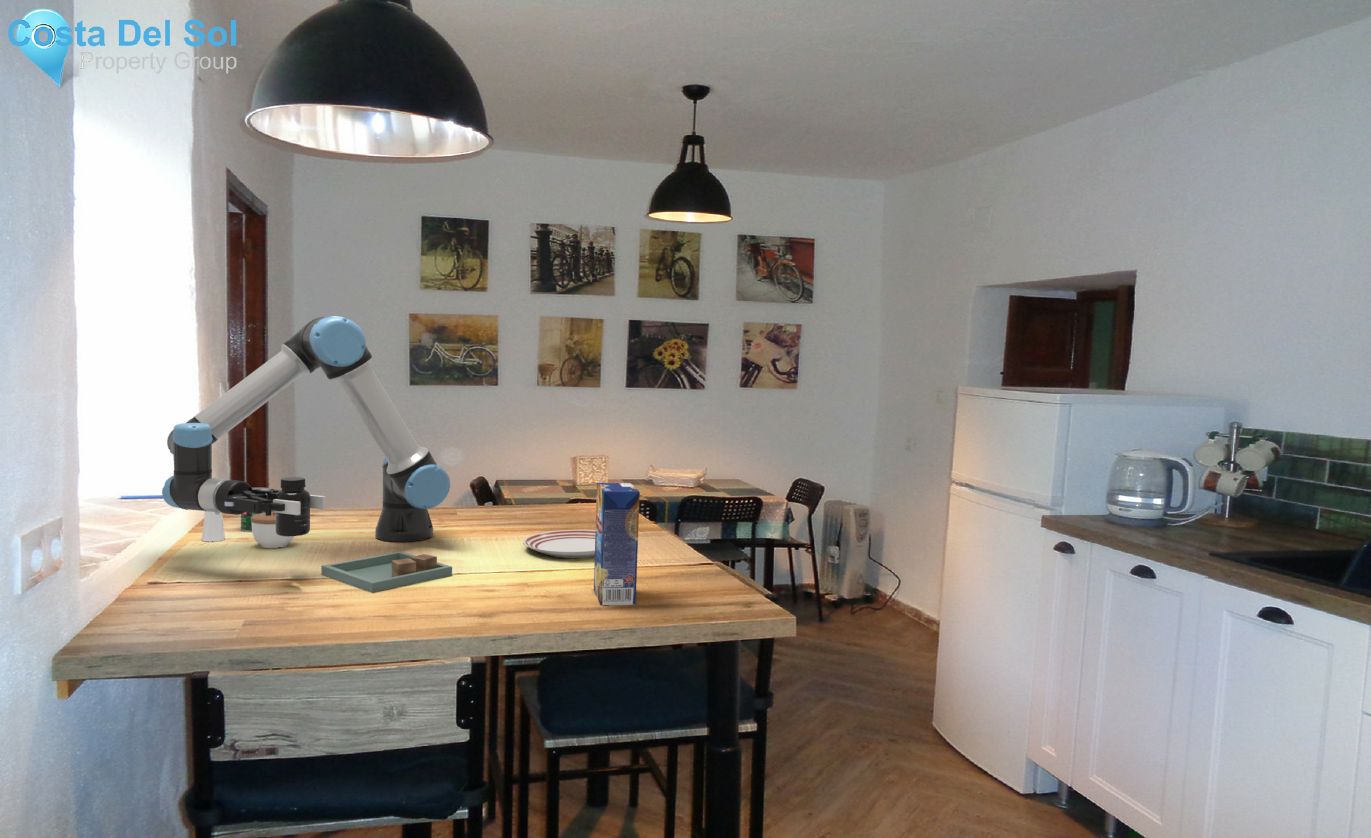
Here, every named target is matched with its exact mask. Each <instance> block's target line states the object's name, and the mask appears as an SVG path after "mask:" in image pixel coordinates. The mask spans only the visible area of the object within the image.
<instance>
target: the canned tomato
mask: <svg viewBox="0 0 1371 838" xmlns="http://www.w3.org/2000/svg"><path fill="white" fill-rule="evenodd" d="M251 488H252V489H260V490H270V489H272V488H271V487H251ZM271 512H272V510H271ZM262 513H265V512H263V511H262ZM256 514H258V513H251V512H245V513H243V514H240V531H241V532H245V531H249V532H248V533H251V532H250V531H252V521H251V517H252V516H253V515H256Z"/></svg>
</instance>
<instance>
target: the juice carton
mask: <svg viewBox="0 0 1371 838" xmlns="http://www.w3.org/2000/svg"><path fill="white" fill-rule="evenodd" d="M640 493H641V492H640V490H639V489H637V488H636V486H635V485H633V484H632V483H631V482H596V505H595V507H596V509H595V511H596V512H595V530H596V533H595V557H594V566H593V567H594V570H593V591H594V594H595V596H597V597H596V599H597V598H598V599H597V601H598V603H599V606H600V605H609V606H636V605H637V603H636V602H637V576H638V574H637V573H638V553H639V552H638V551H639V550H638V549H639V548H638V545H639V525H640V524H639V523H640V522H639V521H640V519H639V518H640V497H641V496H640Z"/></svg>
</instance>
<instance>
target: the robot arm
mask: <svg viewBox="0 0 1371 838" xmlns="http://www.w3.org/2000/svg"><path fill="white" fill-rule="evenodd" d="M366 345H367V344H366V336H365V334H364V331H363V330H362V328H361V327H360V326H359V325H358V324H357V323H356V322H354V321H353V320H350V319H349V318H346V317H343V316H341V315H339V316H338V315H331V316H330V315H329V316H322V317H316V318H314V319H312V320H310V321H308V322H307V323H306V324H305V325H304V326H302V328H301V329H299V330H298V331H297V332H296V333H294V335H293V336H292V337H290V338H289V339H288V340H287V341H285V342H284V343H282V344H281V348H280V349H281V350H280V351H278V353H277V354H275V355H274V356H272V357H271V358H269V360H267V361H266V362H264V363H263V364H262V365H261V366H259V367H258V368H256V369H255V370H254V371H252V372H251V373H250V374H249V375H247V376H246V377H245V378H243V379H242V380H240V381H239V382H238V383H237V384H235V385H234V386H233V387H231V388H230V389H228V391H226V392H225V393H223V394H221V396H219V397H218V398H217V399H215V400H214V401H213V402H211V403H209V405H207V406H206V407H205V408H204V409H202V410H201V411H200V412H198V413H197V414H195V415H194V416H193V417H192V418H190V419H188V420H187V421H186V422H185V423H184V422H181V423H177V424H174V427H173V429H172V430H171V431H170V433H169V434H168V436H167V441H166V443H167V444H166V446H167V448H168V450H169V452H170V453H171V454H172V455H173V475H172V476H170V477H168V479H166V480H165V482H164V485H163V487H162V489H161V490H162V491H161V495H162V498H163V499H162V500H164V502H165V504H167V505H168V506H170V507H171V508H178V509H182V510H186V511H189V510H190V511H200V512H201V511H203V512H205V511H209V512H215V515H219V514H220V513H222V514H226V515H234V516H239V515H240V516H241V514H243V513H245V512H251V513H258V514H261V513H262V511H263V512H265V513H266V516H271V510H272V511H273V512H274V513H283V514H292V515H300V502H297V501H288V500H278V499H276V494H277V493H278V492H279V491H281V490H282V489H281V490H280V489H275V488H271V489H270V490H260V489H252V488H253V487H252V486H251V485H250V483H248V482H246V481H244V480H237V479H235V480H234V479H228V478H218V477H217V478H216V477H213V469H212V468H213V467H212V463H213V461H212V459H213V457H212V455H213V454H212V453H213V448H212V447H213V445H214V444H215V443H216V442H217V441H218V440H219V439H221V438H222V437H223V436H224V435H226V434H227V433H228V432H230V431H231V430H232V429H234V428H235V427H236V426H238V425H239V424H241V422H243V421H244V420H245V419H246V418H248V417H249V416H251V415H252V414H253V413H254V412H256V411H257V410H258V409H260V408H261V407H262V406H264V405H265V404H267V402H269V401H270V400H271V399H272V398H274V397H275V396H277V395H278V394H279V393H280V392H282V391H283V390H284V389H286V388H287V387H288V386H291V384H292V383H293V382H294V381H296V380H297V379H299V378H300V377H301V376H303V375H307V376H308V375H309V376H310V374H312V373H313V372H315V370H318V369H319V368H320V369H321V370H322V371H323V373H324V375H325V376H326V377H327V379H328V380H329V381H331V382H335V383H337V384H338V385H339V386H340V387H341V389H342V391H343V393H344V394H345V396H346V397H347V399H348V401H349V402H350V404H351V405H352V407H353V409H354V410H355V412H356V413H357V415H358V416H359V418H360V420H361V421H362V423H363V425H364V426H365V428H366V429H367V431H368V432H369V434H370V436H371V437H372V439H373V440H374V442H375V444H376V446H377V447H378V449H379V450H380V452H381V454H382V455H383V460H382V465H381V467H382V506H381V507H382V508H381V512H380V515H379V518H378V521H377V524H376V527H375V532H374V533H375V534H374V536H375V539H377V540H380V541H386V542H396V543H397V542H399V543H402V542H403V543H404V542H415V541H423V540H428V539H430V538H433V536H434V526H433V523H432V520H431V517H430V513H429V510H430V509H433V508H436V507H438V506H439V505H441V504H442V503H443V502H444V501H445V499H446V498H447V497H448V495H449V493H450V489H451V480H450V476H449V474H448V473H447V471H446V470H445V469H444V468H443V466H441V465H438V464H437V461H435V459H434V456H433V455H432V454H431V452H430V450H429V449H428V448H427V447H424V446H421V445H419V444H418V442H417V441H416V439H415V438H414V436H413V433H412V432H411V430H410V429H409V428H408V426H407V424H406V423H405V421H404V419H403V418H402V416H401V413H400V412H399V411H398V409H397V407H396V405H395V404H394V402H393V401H392V398H391V397H390V396H389V394H388V393H387V391H386V389H385V388H384V385H383V384H382V383H381V382H382V381H380V379H379V378H378V375H377V374H376V373H375V370H374V369H373V368H372V362H373V355H372V354H371V352H370V350H369V349H368V347H367V346H366ZM326 501H327V498H326V496H325V495H316V494H315V495H314V494H310V509H317V510H319V509H320V510H326V503H327V502H326ZM428 509H429V510H428ZM429 537H430V538H429ZM427 538H428V539H427Z"/></svg>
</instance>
